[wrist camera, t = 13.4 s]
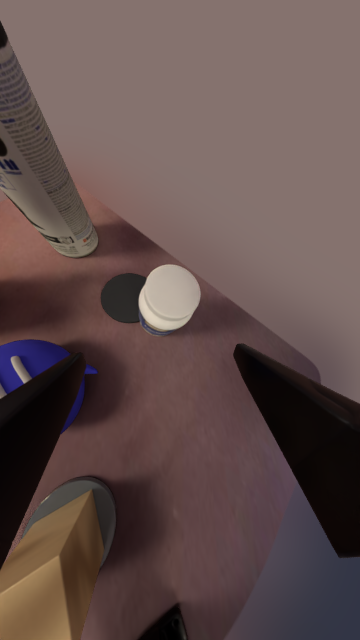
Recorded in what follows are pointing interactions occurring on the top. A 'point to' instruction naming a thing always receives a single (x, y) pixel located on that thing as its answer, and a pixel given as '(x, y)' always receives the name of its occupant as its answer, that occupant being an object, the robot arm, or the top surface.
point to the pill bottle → (168, 299)
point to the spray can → (37, 165)
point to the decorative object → (34, 367)
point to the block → (52, 575)
